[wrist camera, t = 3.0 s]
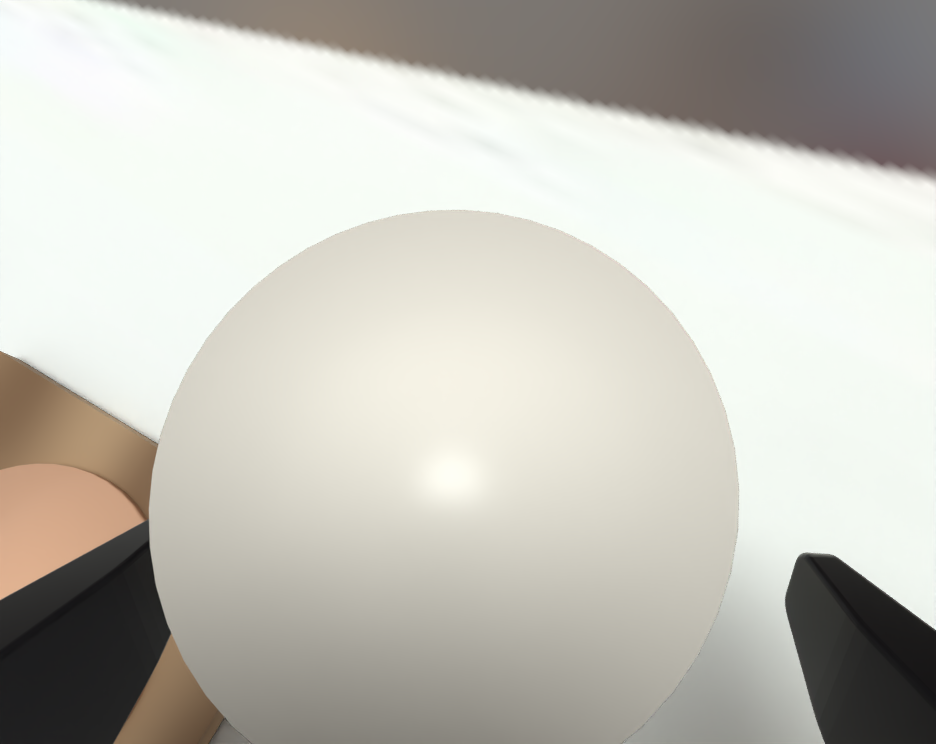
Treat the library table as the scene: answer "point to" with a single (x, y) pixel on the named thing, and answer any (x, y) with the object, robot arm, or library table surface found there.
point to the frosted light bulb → (444, 493)
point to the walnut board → (130, 468)
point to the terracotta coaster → (56, 520)
